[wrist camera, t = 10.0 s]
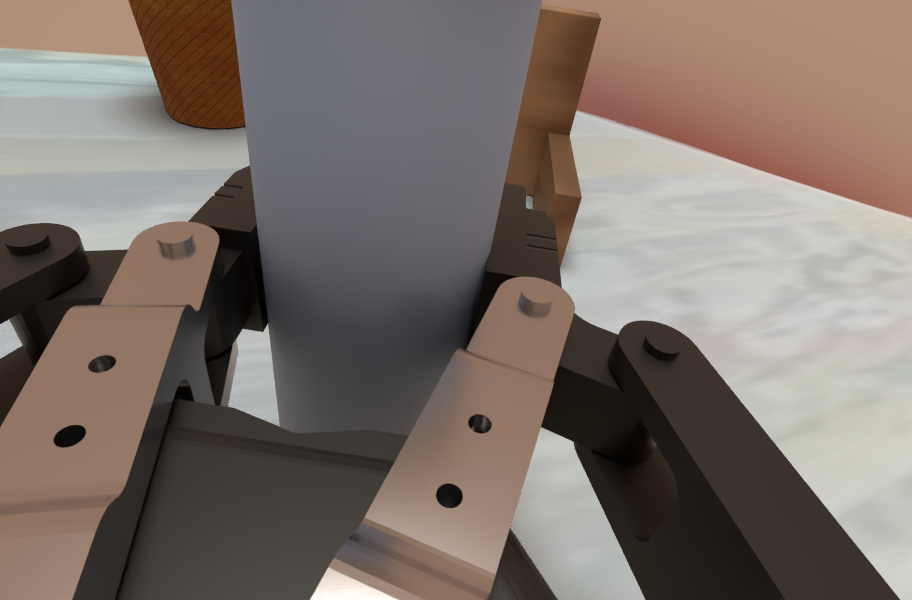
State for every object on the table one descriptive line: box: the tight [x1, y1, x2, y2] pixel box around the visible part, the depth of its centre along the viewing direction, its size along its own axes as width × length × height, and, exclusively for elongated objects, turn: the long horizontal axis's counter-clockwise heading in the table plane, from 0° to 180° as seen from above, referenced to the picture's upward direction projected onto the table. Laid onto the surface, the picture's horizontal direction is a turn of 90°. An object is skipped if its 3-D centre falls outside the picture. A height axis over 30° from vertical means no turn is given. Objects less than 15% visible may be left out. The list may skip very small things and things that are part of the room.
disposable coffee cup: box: [129, 0, 245, 128], centre depth 33 cm, size 10×10×12 cm
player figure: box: [231, 0, 542, 436], centre depth 9 cm, size 5×5×17 cm
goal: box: [505, 4, 601, 267], centre depth 27 cm, size 13×9×10 cm, turn 85°
